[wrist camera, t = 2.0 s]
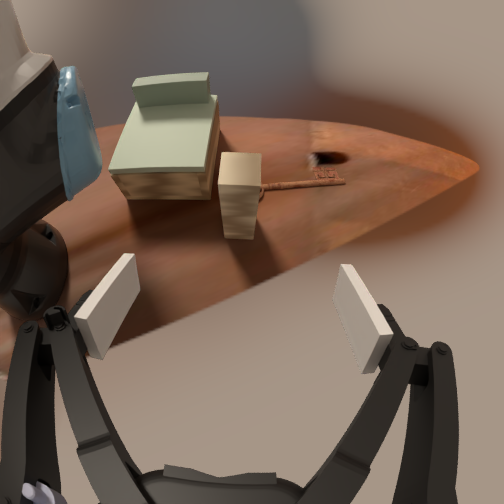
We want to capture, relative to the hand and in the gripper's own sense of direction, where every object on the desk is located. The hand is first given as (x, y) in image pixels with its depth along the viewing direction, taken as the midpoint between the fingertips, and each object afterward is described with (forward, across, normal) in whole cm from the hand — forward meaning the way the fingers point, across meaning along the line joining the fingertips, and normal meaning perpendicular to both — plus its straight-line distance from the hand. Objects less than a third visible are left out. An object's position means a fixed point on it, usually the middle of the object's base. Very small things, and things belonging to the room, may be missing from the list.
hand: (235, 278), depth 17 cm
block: (+17, 0, -3) cm, 18 cm away
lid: (+20, -10, +8) cm, 24 cm away
